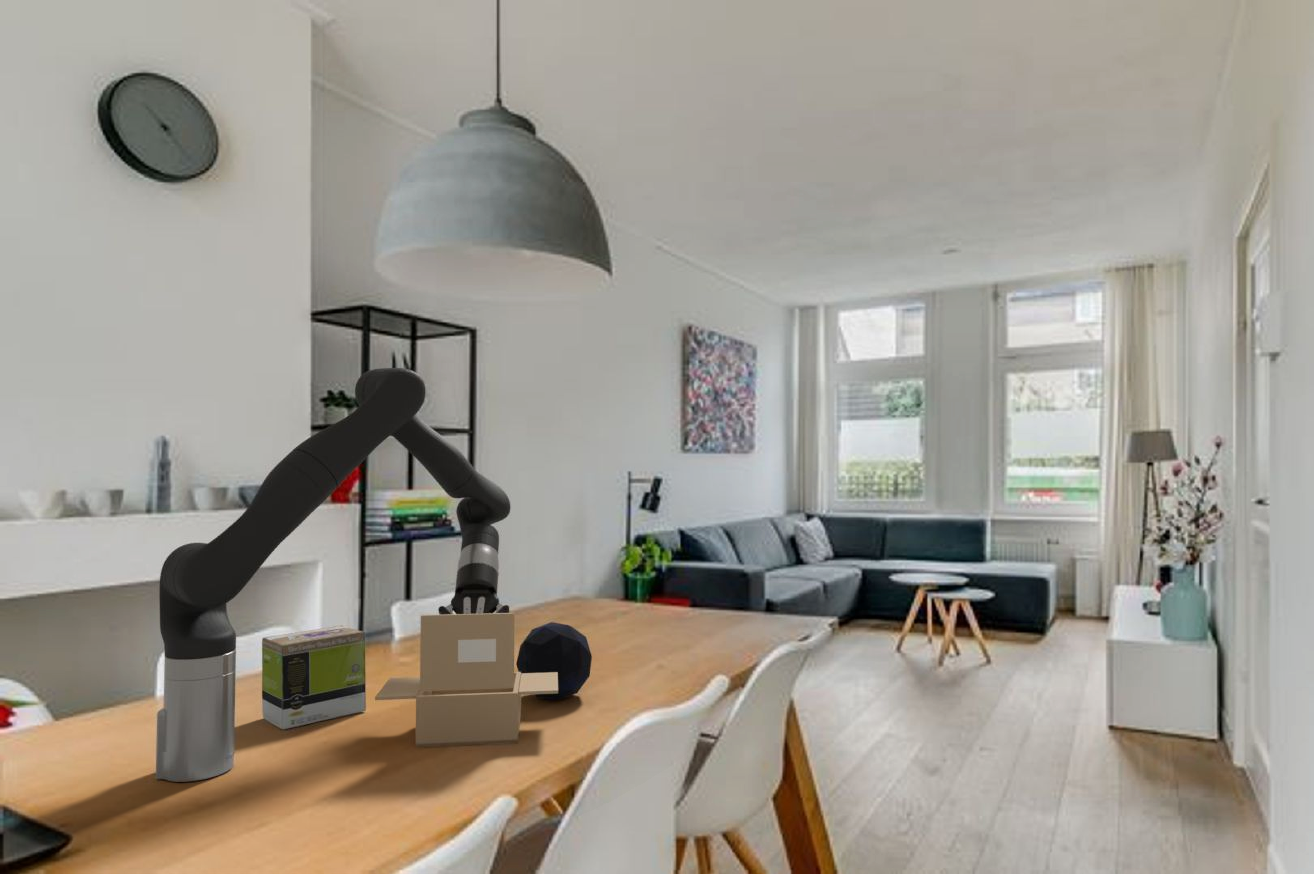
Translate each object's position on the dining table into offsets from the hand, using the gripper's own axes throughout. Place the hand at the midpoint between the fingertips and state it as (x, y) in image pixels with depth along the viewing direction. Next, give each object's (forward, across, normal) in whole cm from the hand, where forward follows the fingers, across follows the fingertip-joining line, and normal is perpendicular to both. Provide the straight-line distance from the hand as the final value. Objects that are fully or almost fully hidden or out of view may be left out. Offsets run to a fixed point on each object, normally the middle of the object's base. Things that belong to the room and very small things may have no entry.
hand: (470, 655), depth 138 cm
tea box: (0, -29, +18) cm, 34 cm away
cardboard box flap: (+8, 0, -2) cm, 9 cm away
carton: (+9, 0, +8) cm, 13 cm away
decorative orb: (-4, +14, +22) cm, 26 cm away
